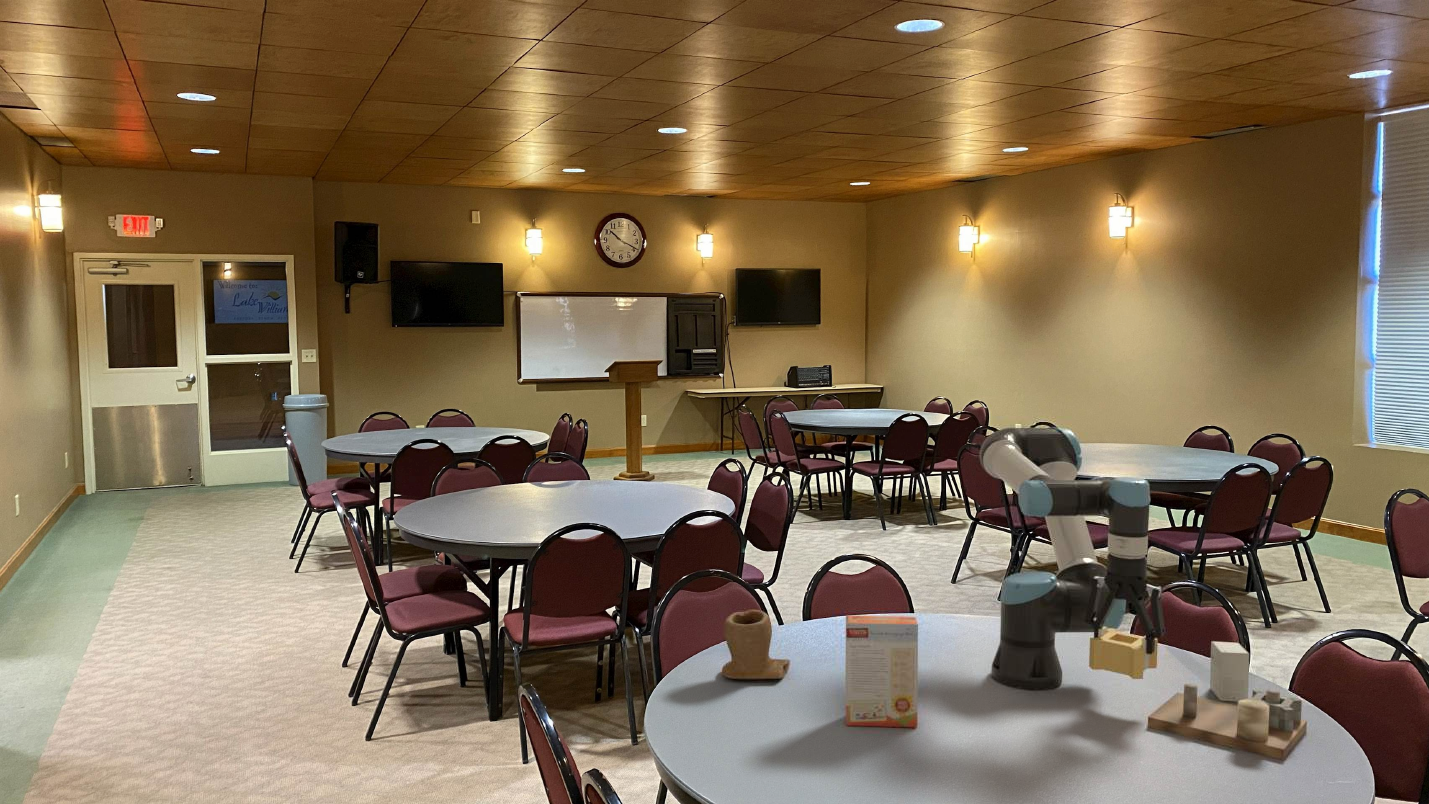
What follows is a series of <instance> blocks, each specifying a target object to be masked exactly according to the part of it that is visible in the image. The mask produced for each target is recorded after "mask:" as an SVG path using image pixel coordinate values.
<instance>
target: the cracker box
mask: <svg viewBox="0 0 1429 804" xmlns="http://www.w3.org/2000/svg"><path fill="white" fill-rule="evenodd" d="M918 647H919V623H918V621H917V618H916V616H899V615H898V616H893V615H890V616H888V615H887V616H886V615H883V616H882V615H878V616H877V615H846V616H845V722H846V724H845V725H846V726H849V727H850V726H853V727H855V726H857V727H859V726H860V727H886V728H887V727H888V728H889V727H892V728H918V702H919V701H918V700H919V699H918V695H919V693H918V692H919V691H918V690H919V687H918V686H919V685H918V684H919V683H918V681H919V680H918V679H919V678H918V677H919V671H918V670H919V669H918V667H919V664H918V663H919V661H918V660H919V659H918V658H919V654H918V653H919V652H918V651H919V648H918Z"/></svg>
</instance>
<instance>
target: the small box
mask: <svg viewBox="0 0 1429 804" xmlns="http://www.w3.org/2000/svg"><path fill="white" fill-rule="evenodd" d="M1209 670H1210V671H1209V672H1210V676H1209V677H1210V678H1209V688H1210V690H1211V691H1212V693H1214V696H1216V697H1217V699H1218V700H1219V702H1237V703H1238V701H1240V700H1244V699H1249V679H1250V678H1249V673H1250V672H1249V671H1250V653H1249V652H1248V650H1246V649H1245V648H1244V647H1243V646H1242V645H1241V644H1240V643H1239V642H1228V641H1213V640H1212V641H1211V642H1210V669H1209Z"/></svg>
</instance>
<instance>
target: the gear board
mask: <svg viewBox="0 0 1429 804" xmlns="http://www.w3.org/2000/svg"><path fill="white" fill-rule="evenodd" d="M1251 697H1252V698H1248V699H1244V700H1240V701H1238V702H1237V704H1233V703H1227V702H1225V701H1220V700H1219V701H1218V700H1214V699H1210V698H1205V697H1200V696H1198V685H1196V684H1194V683H1184V685H1183V693H1182V692H1176V693H1175V694H1174V695H1172V696H1171V697H1170V698H1169V699H1167V701H1165V702H1164V703H1163V704H1161V705H1160V706H1159V707H1158V708H1157V709H1155V710H1154V711H1153V712H1152V713H1150V715H1148V716H1147V727H1148V728H1152V729H1154V730H1155V729H1156V730H1159V731H1163V732H1168V733H1172V734H1176V735H1180V736H1183V737H1187V738H1192V739H1196V740H1201V741H1204V742H1208V743H1212V744H1217V745H1221V746H1225V747H1229V748H1233V749H1237V750H1241V751H1245V752H1249V753H1253V754H1258V755H1261V756H1265V757H1270V758H1273V759H1277V760H1281V761H1284V760H1285V759H1286V758H1287V756H1288V755H1289V754H1290V752H1291V751H1292V750H1293V749H1294V748H1295V746H1296V745H1297V744H1298V742H1299V741H1300V740H1301V738H1302V737H1303V736H1304V734H1305V733H1306V732H1307V729H1308V728H1307V725H1308V723H1307V722H1308V720H1305V719H1302V703H1303V700H1301V699H1300V698H1298V697H1297V696H1296V697H1287V696H1283V695H1281V692H1280V690H1277V689H1271V688H1269V689H1266V690H1265V691H1264V690H1261V689H1253V690H1252V696H1251Z"/></svg>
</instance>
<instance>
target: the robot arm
mask: <svg viewBox="0 0 1429 804" xmlns="http://www.w3.org/2000/svg"><path fill="white" fill-rule="evenodd" d="M1081 453H1082V449H1081V444H1080V442H1079V440H1078V438H1077V436H1076V434H1075V433H1074V432H1073V431H1071V430H1070V429H1069V428H1064V427H1057V426H1050V427H1005V428H1002V429H998V430H997V431H996V430H995V432H992V433H991V434H990V435H988V437H986V439H984V440H983V443H982V444H981V446H980V450H979V460H980V461H979V462H980V464H981V467H982V468H983V470H984V471H985V472H986V473H987V474H989V475H990V476H991V477H993V478H996V479H1000V480H1002V481H1003V483H1005V484H1006V485H1007V486H1008V487H1009V488H1010V489H1012V490H1013V491H1014V492H1015V493H1016V494H1017V499H1018V505H1019V508H1020V512H1021V513H1022V514H1023V515H1024V516H1027V517H1037V518H1044V519H1045V523H1046V526H1047V530H1048V533H1049V537H1050V540H1051V545H1052V548H1053V549H1052V550H1053V551H1054V556H1055V559H1056V563H1057V566H1058V572H1056V575H1055V574H1054V573H1053V572H1049V571H1043V570H1042V571H1038V570H1031V571H1030V570H1028V571H1021V572H1016V573H1013V574H1010V575H1008V576H1007V577H1005V578H1004V579H1003V582H1002V583H1001V592H1000V596H999V600H1000V631H999V632H1000V635H999V636H1000V637H999V644H998V647H997V650H996V653H995V656H994V658H993V661H992V663H991V671H990V672H991V678H992V679H993V680H995V681H996V682H998V683H999V684H1002V685H1006V686H1007V687H1013V688H1017V689H1022V690H1047V689H1048V690H1049V689H1054V688H1057V687H1059V686H1061V685H1062V683H1063V669H1062V666H1061V663H1060V660H1059V656H1058V653H1057V650H1056V647H1055V646H1056V645H1055V643H1056V634H1058V633H1093V638H1100V637H1101V636H1103V635H1105V634H1106V633H1107V629H1110V628H1114V629H1116V630H1118V629H1119V628H1120V627H1121V625H1122V623H1123V620H1124V617H1125V614H1126V612H1125V611H1126V603H1127V602H1131V604H1132V606H1133V607H1134V609H1135V612H1136V615H1137V617H1138V620H1139V622H1140V626H1141V627H1142V630H1143V632H1144V636H1143V638H1142V644H1141V645H1142V648H1143V649H1144V667H1143V670H1144V671H1143V672H1145V671H1146V670H1147V669H1149V668H1148V667H1149V654H1152V653H1154V650H1155V638H1156V639H1160V638H1162V637H1163V636H1165V634H1166V628H1165V621H1164V613H1163V605H1162V599H1161V598H1162V595H1163V587H1162V586H1160V585H1159V586H1154V585H1151V584H1149V582H1148V580H1147V573H1148V572H1147V570H1148V569H1147V567H1148V558H1147V556H1146V555H1147V554H1148V546H1149V542H1148V540H1149V521H1150V506H1151V505H1150V503H1151V495H1150V483H1149V482H1148V480H1146V479H1144V478H1140V477H1139V478H1138V477H1131V476H1119V477H1118V476H1117V477H1114V478H1112V479H1111V478H1109V477H1101V476H1098V477H1097V476H1096V477H1092V478H1090V479H1088V480H1087V479H1085V480H1084V479H1083V480H1081V479H1079V480H1078V479H1077V480H1075V479H1076V477H1077V476H1078V473H1079V471H1080V469H1081V468H1082V467H1081V466H1082V460H1083V458H1082V454H1081ZM1100 516H1101V517H1106V518H1108V529H1107V531H1108V533H1107V536H1108V537H1107V551H1108V552H1109V553H1108V554H1107V556H1106V557H1107V558H1106V566H1105V565H1104V564H1103V563H1100V562H1098V560H1097V555H1096V552H1095V548H1094V545H1093V542H1092V539H1091V535H1090V533H1089V528H1088V526H1087V522H1086V519H1085V517H1100ZM1146 591H1147V592H1148V596H1149V597H1150V607H1151V614H1152V619H1151V617H1150V615H1149V612H1148V609H1147V607H1146V604H1145V599H1144V598H1145V597H1144V595H1143V594H1144V593H1145V592H1146ZM1152 621H1153V622H1152Z"/></svg>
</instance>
